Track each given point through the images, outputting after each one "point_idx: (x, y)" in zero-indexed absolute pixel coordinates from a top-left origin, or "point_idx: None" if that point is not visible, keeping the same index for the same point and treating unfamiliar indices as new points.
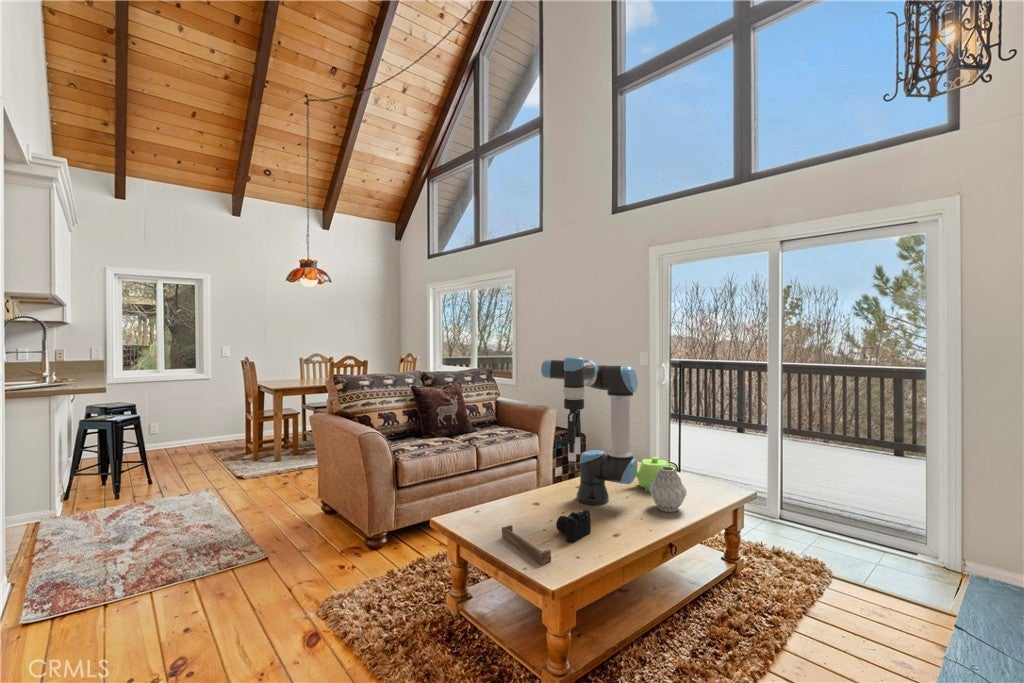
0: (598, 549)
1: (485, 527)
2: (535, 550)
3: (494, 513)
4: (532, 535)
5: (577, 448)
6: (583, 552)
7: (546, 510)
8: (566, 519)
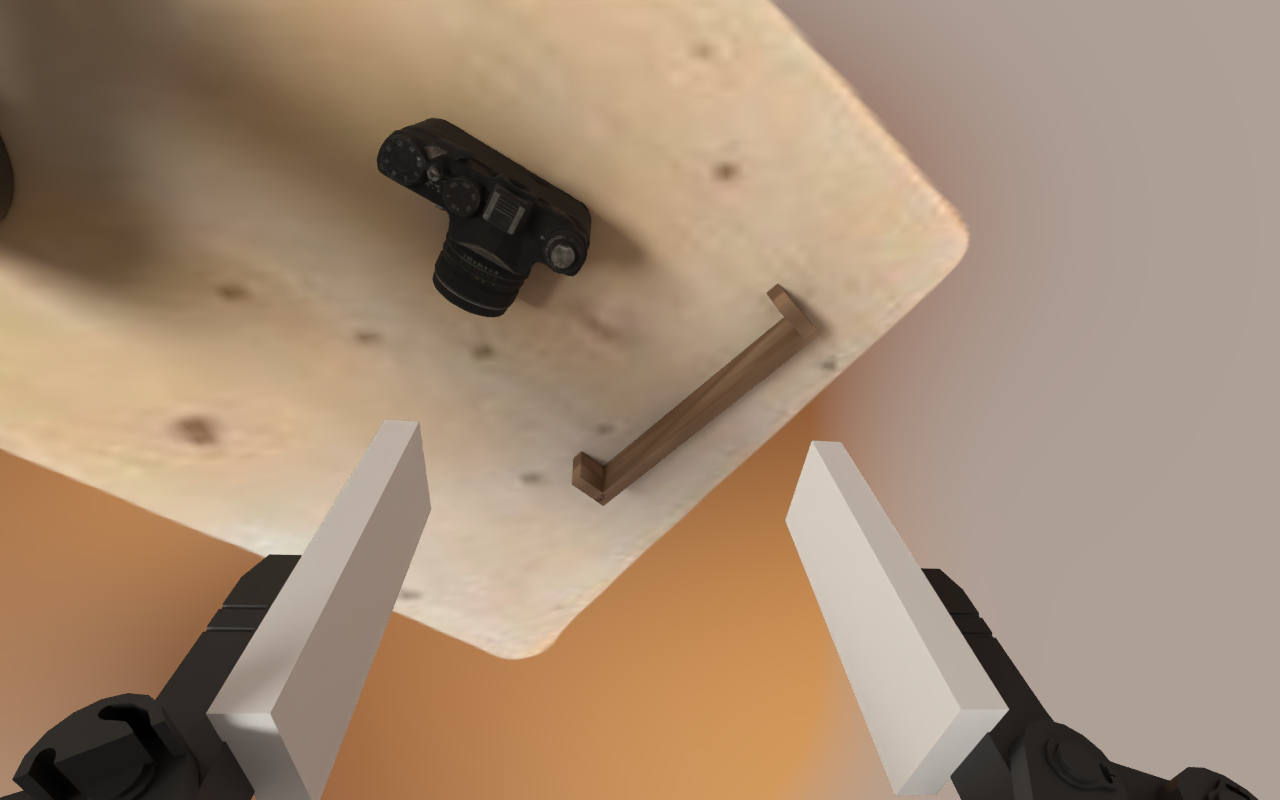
0: (630, 61)
1: (534, 542)
2: (787, 359)
3: None
4: (555, 387)
5: (393, 523)
6: (676, 146)
7: (254, 375)
8: (500, 273)
